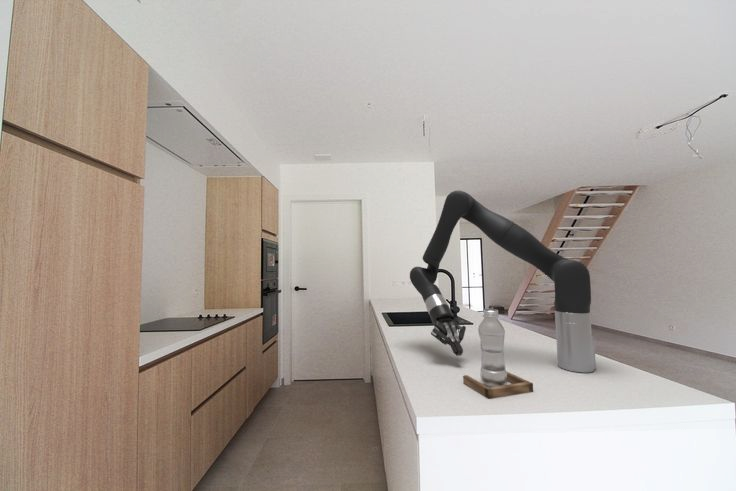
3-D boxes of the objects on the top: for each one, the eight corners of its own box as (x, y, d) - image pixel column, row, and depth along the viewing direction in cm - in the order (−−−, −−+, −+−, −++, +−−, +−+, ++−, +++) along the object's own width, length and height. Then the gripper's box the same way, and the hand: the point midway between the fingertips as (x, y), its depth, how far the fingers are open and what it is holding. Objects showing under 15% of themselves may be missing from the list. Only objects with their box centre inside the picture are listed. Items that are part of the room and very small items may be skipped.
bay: (504, 377, 85) (503, 370, 85) (533, 391, 75) (532, 383, 76) (463, 383, 81) (463, 375, 81) (488, 398, 72) (488, 390, 72)
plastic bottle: (510, 392, 75) (507, 311, 76) (482, 390, 76) (478, 311, 78) (505, 383, 81) (501, 308, 82) (478, 381, 82) (475, 308, 84)
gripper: (425, 304, 103) (445, 349, 90) (458, 302, 107) (482, 346, 94) (418, 317, 107) (437, 362, 95) (451, 315, 111) (472, 358, 99)
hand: (459, 354), depth 94 cm, fingers closed
